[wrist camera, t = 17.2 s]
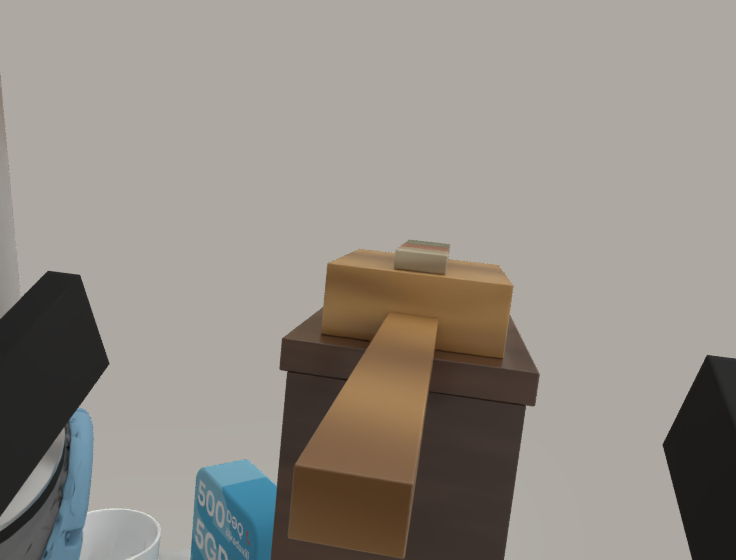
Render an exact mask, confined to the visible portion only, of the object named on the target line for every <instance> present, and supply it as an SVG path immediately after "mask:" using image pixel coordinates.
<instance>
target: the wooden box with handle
mask: <svg viewBox="0 0 736 560" xmlns="http://www.w3.org/2000/svg"><path fill="white" fill-rule="evenodd" d="M449 248H450V245H449V244H442V243H433V242H424V241H415V240H408V241H407V242H406V243H404V244H403V245H402V246H401V247H399V248H398V249H397V250H396V252H395V253H389V252H381V251H372V250H364V249H358V250H356V251H354V252H352V253H350V254H347V255H345V256H343V257H340V258H338V259H336V260H334V261H332V262H329V263H328V264H327V274H326V284H325V295H324V305H323V316H322V326H321V334H323V335H330V336H338V337H345V338H352V339H360V340H367V341H371V343H370V344H369V346H368V348H367V349H366V351H365V352H364V354H363V356H362V357H361V359H360V361H359V362H358V364H357V365H356V367H355V369H354V370H353V372H352V373H351V375H350V377H349V378H348V380H347V381H346V383H345V385H344V386H343V388H342V389H341V391H340V393H339V394H338V396H337V398H336V399H335V401H334V402H333V404H332V406H331V407H330V409H329V410H328V412H327V414H326V415H325V417H324V418H323V420H322V422H321V423H320V425H319V426H318V428H317V430H316V431H315V433H314V435H313V436H312V438H311V439H310V441H309V443H308V444H307V446H306V447H305V449H304V451H303V452H302V454H301V455H300V457H299V459H298V460H297V462H296V463H295V465H294V473H293V483H292V494H291V505H290V516H289V527H288V538H290V539H295V540H301V541H306V542H312V543H317V544H323V545H329V546H334V547H340V548H345V549H351V550H357V551H362V552H368V553H373V554H379V555H384V556H390V557H396V558H401V559H403V558H404V557H405V552H406V545H407V538H408V532H409V525H410V518H411V511H412V504H413V497H414V490H415V483H416V476H417V469H418V462H419V455H420V449H421V442H422V435H423V428H424V421H425V414H426V407H427V400H428V393H429V386H430V379H431V372H432V366H433V359H434V352H435V350H441V351H449V352H456V353H464V354H471V355H478V356H486V357H493V358H501V359H503V358H504V351H505V344H506V337H507V329H508V322H509V315H510V307H511V299H512V293H513V285H512V283H511V282H510V280H509V279H508V278H507V276H506V275H505V273H504V272H503V271H502V269H501V268H500V267H499V265H493V264H484V263H475V262H467V261H459V260H450V259H448V257H449Z"/></svg>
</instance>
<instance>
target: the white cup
mask: <svg viewBox="0 0 736 560" xmlns="http://www.w3.org/2000/svg"><path fill="white" fill-rule="evenodd" d="M82 531H83V542H82V548H81V554H80V558H79V560H158V554H159V545H160V535H161V528H160V525H159V523H158V522H157V521H156V520H155V519H154V518H153V517H152V516H150V515H148V514H146V513H143V512H141V511H137V510H132V509H124V508H111V509H109V508H108V509H100V510H94V511H90V512H87V516H86V520H85V525H84V527H83V529H82Z"/></svg>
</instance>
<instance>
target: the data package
mask: <svg viewBox="0 0 736 560" xmlns="http://www.w3.org/2000/svg"><path fill="white" fill-rule="evenodd" d="M276 492H277V485H276V484H274V483H273V482H272V481H271V480H270V479H269V478H268V477H266V476H265V475H264V474H263V473H262V472H261V471H260V470H259V469H258V468H256V467H255V466H254V465H253V464H252V463H251V462H250V461H248V460H245V459H244V460H239V461H234V462H229V463H224V464H219V465H214V466H209V467H204V468H201V469H200V470H199V471H198V473H197V476H196V487H195V502H194V516H193V531H192V546H191V560H270V559H271V548H272V537H273V526H274V514H275V503H276Z"/></svg>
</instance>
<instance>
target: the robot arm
mask: <svg viewBox="0 0 736 560" xmlns="http://www.w3.org/2000/svg"><path fill="white" fill-rule="evenodd" d="M108 365H109V361H108V358H107V355H106V352H105V349H104V346H103V343H102V340H101V337H100V334H99V331H98V328H97V325H96V322H95V319H94V316H93V313H92V310H91V307H90V304H89V301H88V298H87V295H86V292H85V288H84V285H83V282H82V280H81V276H80V275H76V274H69V273H61V272H53V271H47V272H46V273H45V274H44V275H43V276H42V277H41V278H40V280H38V282H37V283H35V285H33V286H32V288H31V289H29V291H28V292H27V293H26V294H25V295H24V296H23V297H22V298H21V296H20V285H19V274H18V264H17V253H16V241H15V231H14V219H13V208H12V198H11V187H10V176H9V165H8V154H7V143H6V132H5V122H4V110H3V99H2V88H1V78H0V560H79V558H80V554H81V548H82V542H83V531H82V529H83V527H84V525H85V520H86V516H87V510H88V503H89V495H90V485H91V475H92V461H93V424H92V421H91V417H90V416H89V414H88V412H87V411H86V410H84V409H82V408H78V407H79V405H80V404H81V403H82V402H83V400H84V399H85V397H86V396H87V395H88V393H89V392H90V390H91V389H92V388H93V386H94V384H95V383H96V382H97V381H98V379H99V378H100V376H101V375H102V374H103V372H104V371H105V369H106V368H107V367H108ZM663 448H664V452H665V456H666V460H667V464H668V467H669V471H670V475H671V479H672V483H673V487H674V490H675V494H676V498H677V502H678V506H679V510H680V514H681V518H682V522H683V526H684V530H685V533H686V537H687V541H688V545H689V549H690V553H691V557H692V560H736V359H734V358H726V357H718V356H710V355H707V356H706V358H705V360H704V362H703V364H702V366H701V368H700V370H699V372H698V374H697V376H696V378H695V380H694V382H693V384H692V386H691V388H690V391H689V392H688V394H687V396H686V399H685V400H684V403H683V405H682V407H681V409H680V411H679V413H678V415H677V417H676V419H675V421H674V423H673V425H672V427H671V429H670V431H669V433H668V435H667V437H666V439H665V441H664V443H663Z"/></svg>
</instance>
